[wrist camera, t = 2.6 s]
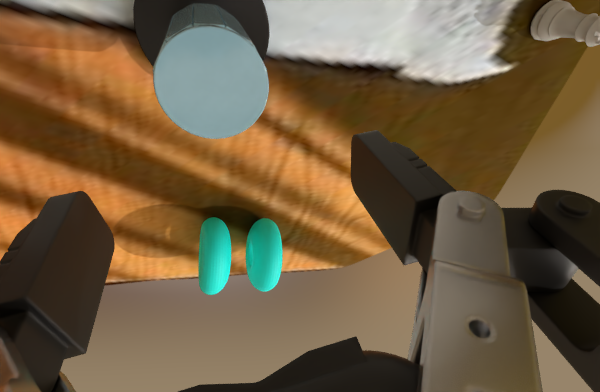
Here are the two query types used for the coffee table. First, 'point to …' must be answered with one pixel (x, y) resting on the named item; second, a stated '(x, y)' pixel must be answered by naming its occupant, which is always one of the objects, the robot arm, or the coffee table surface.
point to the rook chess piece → (565, 23)
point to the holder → (165, 3)
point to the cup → (209, 73)
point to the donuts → (259, 255)
